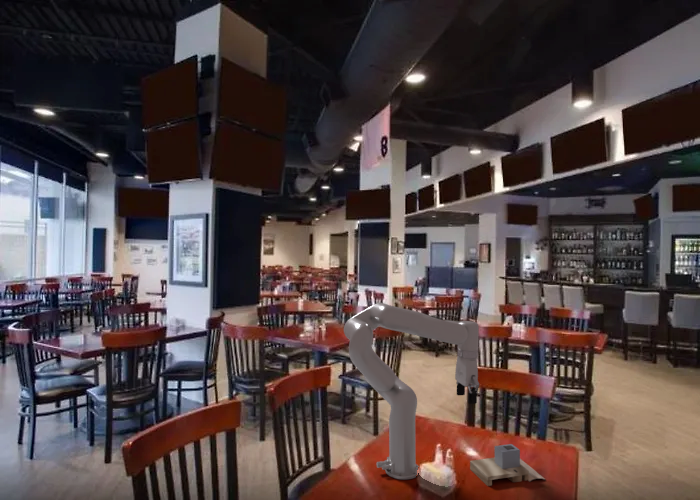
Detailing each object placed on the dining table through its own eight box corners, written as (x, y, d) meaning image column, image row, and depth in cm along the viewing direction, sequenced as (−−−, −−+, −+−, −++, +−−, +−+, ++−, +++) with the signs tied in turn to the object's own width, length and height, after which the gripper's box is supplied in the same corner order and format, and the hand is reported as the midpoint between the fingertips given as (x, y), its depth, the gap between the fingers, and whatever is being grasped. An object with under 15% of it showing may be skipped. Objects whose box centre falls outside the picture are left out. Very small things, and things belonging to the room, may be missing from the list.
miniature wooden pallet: (487, 486, 153) (487, 476, 153) (470, 469, 164) (470, 460, 164) (528, 480, 156) (528, 470, 156) (508, 464, 168) (508, 455, 168)
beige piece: (545, 482, 156) (545, 477, 156) (527, 484, 155) (527, 479, 155) (509, 452, 179) (509, 447, 179) (492, 453, 178) (493, 449, 178)
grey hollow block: (502, 469, 158) (502, 451, 158) (494, 462, 163) (494, 445, 163) (519, 466, 160) (519, 449, 160) (511, 460, 164) (511, 443, 164)
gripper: (448, 349, 178) (447, 392, 178) (469, 359, 161) (467, 407, 161) (466, 349, 179) (465, 391, 179) (488, 359, 162) (486, 406, 162)
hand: (466, 399), depth 170 cm, fingers open, 9 cm apart
